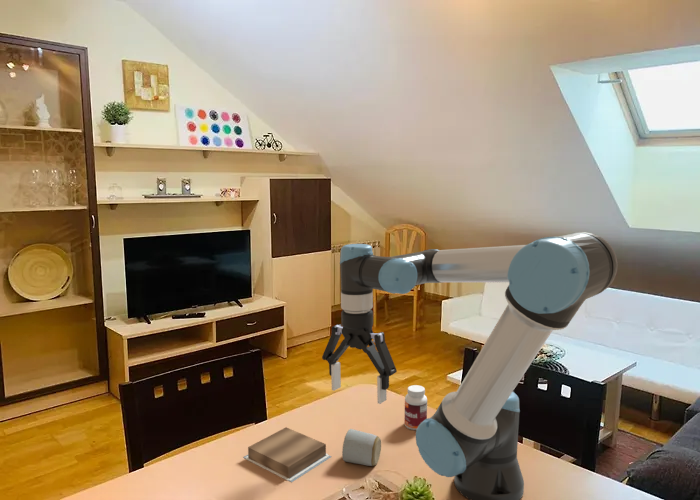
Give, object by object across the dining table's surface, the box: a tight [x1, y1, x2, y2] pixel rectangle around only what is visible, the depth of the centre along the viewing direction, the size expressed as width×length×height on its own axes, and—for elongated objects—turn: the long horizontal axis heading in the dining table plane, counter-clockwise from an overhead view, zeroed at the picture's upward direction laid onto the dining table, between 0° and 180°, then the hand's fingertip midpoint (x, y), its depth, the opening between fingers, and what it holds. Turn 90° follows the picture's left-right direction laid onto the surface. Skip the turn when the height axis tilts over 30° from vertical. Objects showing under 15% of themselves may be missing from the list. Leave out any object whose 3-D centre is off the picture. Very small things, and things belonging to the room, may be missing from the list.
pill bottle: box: [403, 384, 428, 431], centre depth 148 cm, size 6×6×11 cm
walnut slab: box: [247, 426, 327, 478], centre depth 132 cm, size 14×13×3 cm
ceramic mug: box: [341, 428, 382, 467], centre depth 132 cm, size 11×8×8 cm
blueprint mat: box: [242, 452, 332, 483], centre depth 133 cm, size 17×14×1 cm
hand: (358, 395), depth 129 cm, fingers open, 13 cm apart
